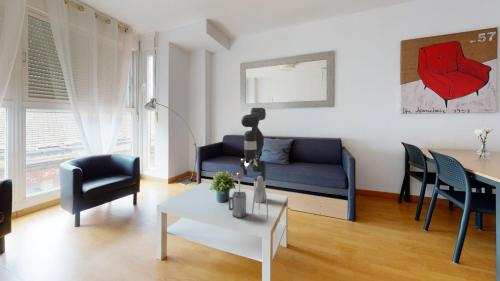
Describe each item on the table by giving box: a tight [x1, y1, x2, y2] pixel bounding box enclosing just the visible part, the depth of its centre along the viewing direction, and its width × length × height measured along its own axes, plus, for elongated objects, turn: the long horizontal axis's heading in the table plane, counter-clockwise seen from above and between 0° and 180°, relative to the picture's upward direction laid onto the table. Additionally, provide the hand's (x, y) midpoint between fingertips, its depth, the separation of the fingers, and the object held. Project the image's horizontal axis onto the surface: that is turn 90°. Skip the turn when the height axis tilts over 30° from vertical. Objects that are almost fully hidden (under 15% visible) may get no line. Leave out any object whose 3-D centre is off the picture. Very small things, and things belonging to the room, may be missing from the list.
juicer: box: [251, 176, 269, 222], centre depth 137 cm, size 10×9×30 cm
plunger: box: [236, 172, 243, 194], centre depth 140 cm, size 7×7×18 cm
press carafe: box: [228, 191, 247, 219], centre depth 142 cm, size 9×12×15 cm
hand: (250, 173), depth 128 cm, fingers open, 8 cm apart
